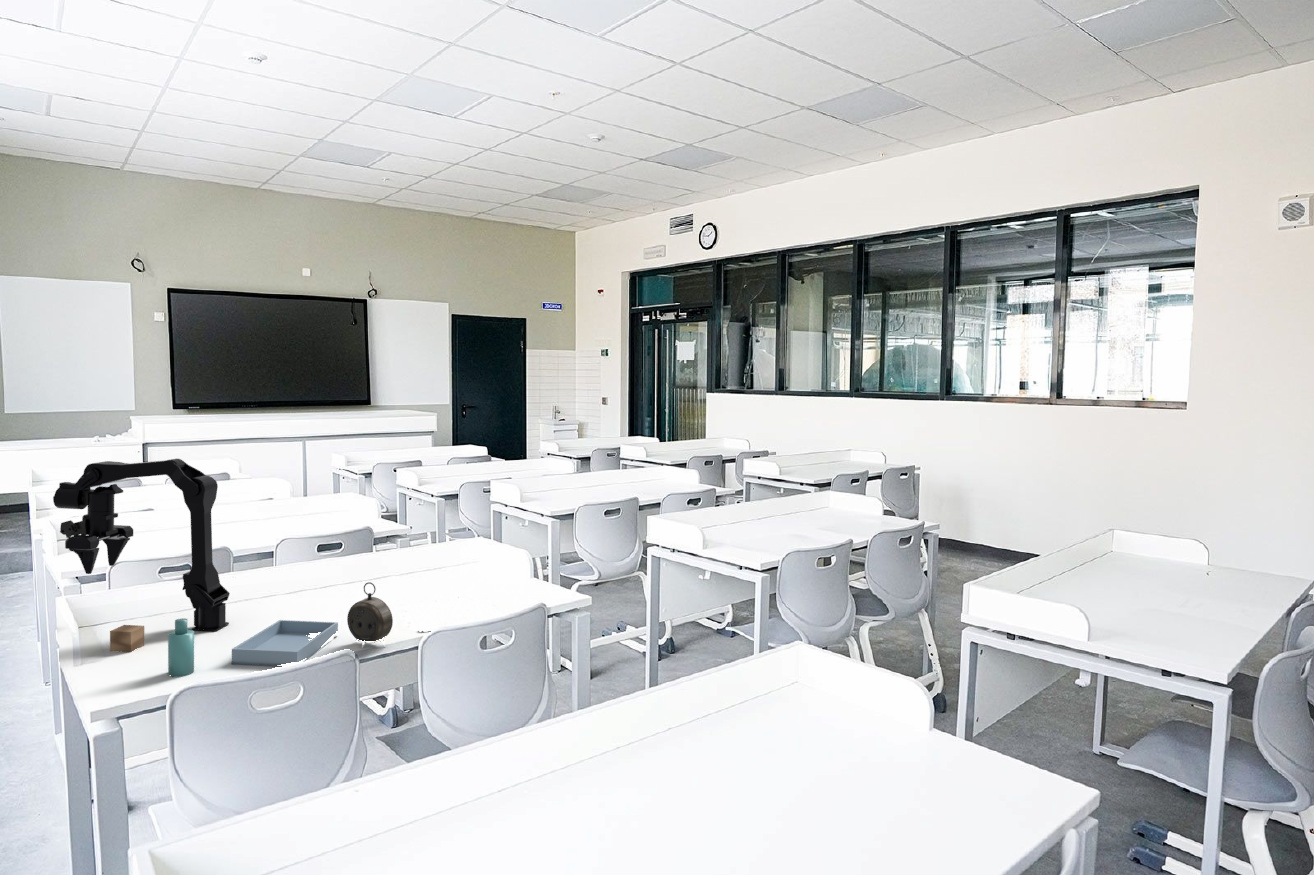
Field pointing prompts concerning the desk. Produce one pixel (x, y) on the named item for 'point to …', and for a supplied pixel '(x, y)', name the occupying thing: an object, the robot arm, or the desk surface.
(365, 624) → the alarm clock
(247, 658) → the tray
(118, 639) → the walnut cube
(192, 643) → the teal canister
